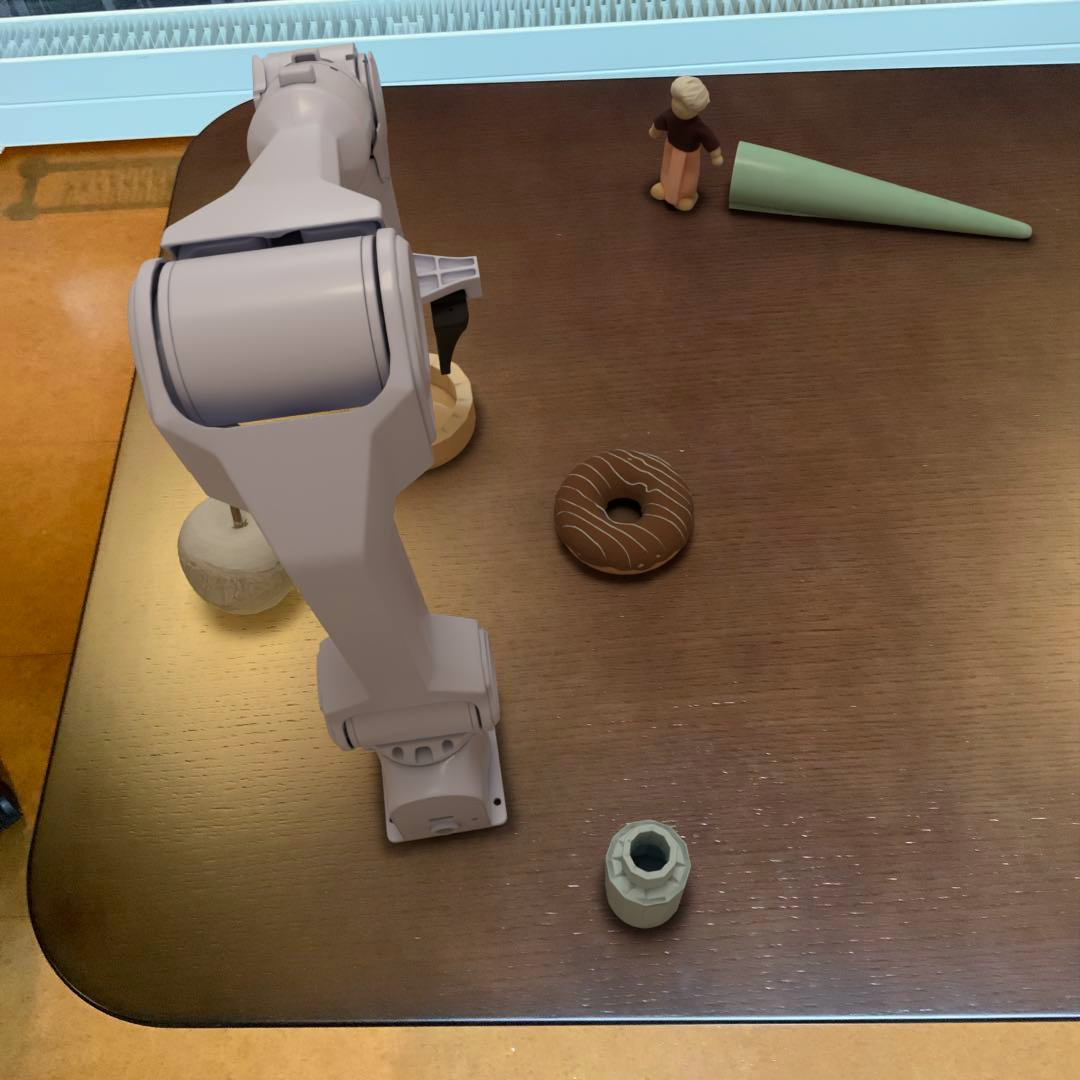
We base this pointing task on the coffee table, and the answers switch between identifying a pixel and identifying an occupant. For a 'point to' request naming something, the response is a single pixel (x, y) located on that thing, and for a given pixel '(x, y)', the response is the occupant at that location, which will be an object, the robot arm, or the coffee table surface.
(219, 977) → the coffee table surface
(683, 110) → the grandmother figurine
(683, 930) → the coffee table surface
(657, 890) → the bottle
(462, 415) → the holder
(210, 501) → the decorative object
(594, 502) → the donut
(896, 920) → the coffee table surface
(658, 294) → the coffee table surface
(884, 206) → the mint green cone
